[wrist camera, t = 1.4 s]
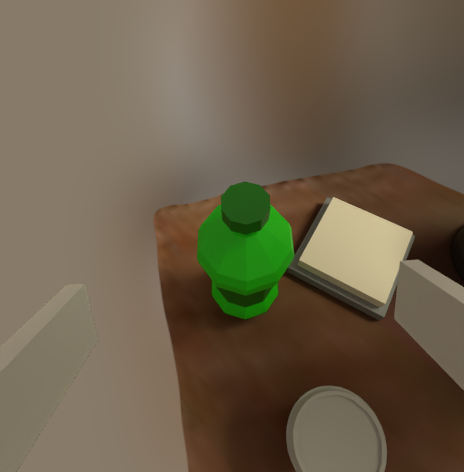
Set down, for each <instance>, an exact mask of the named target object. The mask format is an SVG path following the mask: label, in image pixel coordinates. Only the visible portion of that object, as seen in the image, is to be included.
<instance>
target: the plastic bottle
mask: <svg viewBox="0 0 464 472" xmlns="http://www.w3.org/2000/svg"><path fill="white" fill-rule="evenodd" d="M293 258H294V248H293V239H292V230H291V226H290V225H289V223H288V222H287V221H286V220H285V219H284V218H283V217H282V216H281V215H280V214H279V213H278V212H277V211H276V210H275V209H274V207H273V206H272V205H271V204H270V195H269V194H268V193H267V192H266V191H265V190H264V189H263V188H262V187H261V186H260V185H256V184H253V183H248V182H242V183H239V184H235V185H232V186H230V187H229V188H228V189H227V190H226V192H225V193H224V194H223V195H222V196H221V205H218V206H217V207H216V209H215V210H214V211H213V212H212V213H211V214H210V216H209V217H208V218H207V219H206V220H205V221H204V222H203V224H202V225H201V226H200V228H199V230H198V249H197V259H198V262H199V264H200V265H201V266H202V268H203V269H204V270H205V272H206V273H207V274H208V276H209V277H210V278H211V280H212V296H213V298H214V299H215V301H216V302H217V303H218V305H219V306H220V307H221V309H222V310H223V312H224V313H226V314H229V315H232V316H235V317H238V318H242V319H245V320H246V319H249V318H252V317H255V316H258V315H261V314H264V313H266V312H267V310H268V309H269V307H270V306H271V304H272V303H273V301H274V300H275V298H276V297H277V295H278V281H279V280H280V279H281V277H282V276H283V274H284V273H285V271H286V270H287V268H288V267H289V265H290V264H291V262H292V261H293Z"/></svg>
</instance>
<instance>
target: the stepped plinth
mask: <svg viewBox="0 0 464 472" xmlns="http://www.w3.org/2000/svg"><path fill="white" fill-rule="evenodd" d="M412 234H413V232H412V231H410V230H408V229H405V228H403V227H401V226H398V225H396V224H394V223H392V222H389V221H387V220H385V219H382V218H380V217H378V216H376V215H373V214H371V213H369V212H366V211H364V210H362V209H360V208H357V207H355V206H353V205H350V204H348V203H346V202H344V201H341V200H339V199H337V198H334V197H333V199H330V198H328V197H327V199H326V200H325V202H324V204H323V206H322V208H321V209H320V211H319V213H318V215H317V217H316V218H315V220H314V222H313V224H312V226H311V227H310V229H309V231H308V233H307V234H306V236H305V238H304V240H303V242H302V243H301V245H300V247H299V249H298V251H297V252H296V254H295V256H294V258H293V261H292V262H291V264H290V265H289V267H288V270H287V272H288V273H290V274H292V275H293V276H295V277H297V278H299V279H301V280H303V281H305V282H307V283H309V284H310V285H312V286H314V287H316V288H318V289H320V290H322V291H324V292H326V293H328V294H329V295H331V296H333V297H335V298H337V299H339V300H341V301H343V302H345V303H346V304H348V305H350V306H352V307H354V308H356V309H358V310H360V311H362V312H364V313H365V314H367V315H369V316H371V317H373V318H375V319H377V320H381V319H383V318H384V317H385V315H386V312H387V309H388V307H389V304H390V301H391V299H392V296H393V293H394V291H395V288H396V286H397V283H398V275H399V265H400V261H406V259H407V257H408V254H409V251H410V249H411V246H412V244H413V241H414V238H415V236H414V235H412Z"/></svg>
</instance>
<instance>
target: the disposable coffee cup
mask: <svg viewBox="0 0 464 472" xmlns="http://www.w3.org/2000/svg"><path fill="white" fill-rule="evenodd" d="M286 441H287V449H288V453H289V456H290V460H291V462H292V464H293V467H294V469H295V471H296V472H384V471H385V468H386V462H387V446H386V440H385V436H384V432H383V429H382V426H381V424H380V422H379V420H378V418H377V417H376V415H375V413H374V412H373V410H372V409H371V408H370V407H369V405H368V404H367V403H366V402H365V401H364V400H363V399H361V398H360V397H359V396H357V395H356V394H354V393H353V392H351V391H349V390H347V389H344V388H341V387H336V386H320V387H317V388H314V389H312V390H310V391H308V392H306V393H305V394H304V395H303V396H302V397H300V398H299V400H298V401H297V402H296V403H295V405H294V406H293V408H292V410H291V413H290V415H289V419H288V423H287V430H286Z"/></svg>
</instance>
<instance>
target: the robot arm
mask: <svg viewBox="0 0 464 472" xmlns="http://www.w3.org/2000/svg"><path fill="white" fill-rule="evenodd" d="M452 257H453V261H454V264H455V266H456V269H457V271H458V272H459V274H460V275H461V277H462V278H463V280H464V227H463V228H461V229H460V230H459V231H458V232H457V234H456V235H455V237H454V239H453V243H452ZM394 319H395V320H396V321H397V322H398V323H399V324H400V325H401V326H402V327H403V328H404V329H405V330H406V331H407V332H408V334H409V335H410V336H411V337H412V338H413V339H414V340H415V341H416V342H417V343H418V344H419V345H420V346H421V347H422V348H423V349H424V350H425V351H426V352H427V353H428V354H429V355H430V356H431V357H432V358H433V359H434V360H435V361H436V362H437V363H438V364H439V365H440V367H441V368H442V369H443V370H444V371H445V372H446V373H447V374H448V375H449V376H450V377H451V378H452V379H453V380H454V381H455V382H456V383H457V384H458V385H459V386H460V387H461V388H462V389H463V390H464V287H463V286H461V285H459V284H458V283H456V282H454V281H453V280H451V279H449V278H448V277H446V276H444V275H443V274H441V273H439V272H438V271H436V270H434V269H433V268H431V267H429V266H428V265H426V264H425V263H423V262H421V261H420V260H406V261H400V265H399V275H398V285H397V295H396V304H395V314H394ZM97 341H98V338H97V333H96V330H95V324H94V320H93V315H92V311H91V307H90V302H89V298H88V293H87V289H86V284H71V285H66V286H65V287H64V288H63V289H62V290H61V291H60V292H58V293H57V294H56V295H55V296H54V297H53V298H52V299H51V300H50V301H49V302H48V303H47V304H46V305H44V306H43V307H42V308H41V309H40V310H39V311H38V312H37V313H36V314H35V315H34V316H33V317H32V318H31V319H29V320H28V321H27V322H26V323H25V324H24V325H23V326H22V327H21V328H20V329H19V330H17V332H15V333H14V334H13V335H12V336H11V337H10V338H9V339H8V340H7V341H6V342H5V343H4V344H2V345H1V346H0V472H17V470H18V469H19V467H20V465H21V464H22V462H23V461H24V459H25V457H26V456H27V454H28V453H29V451H30V449H31V447H32V446H33V444H34V443H35V441H36V440H37V438H38V436H39V435H40V433H41V432H42V430H43V428H44V427H45V425H46V424H47V422H48V420H49V419H50V417H51V415H52V414H53V412H54V411H55V409H56V407H57V406H58V404H59V403H60V401H61V399H62V398H63V396H64V395H65V393H66V391H67V390H68V388H69V386H70V385H71V383H72V382H73V380H74V378H75V377H76V375H77V374H78V372H79V370H80V369H81V367H82V366H83V364H84V362H85V361H86V359H87V357H88V356H89V354H90V353H91V351H92V349H93V348H94V346H95V345H96V343H97Z"/></svg>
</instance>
